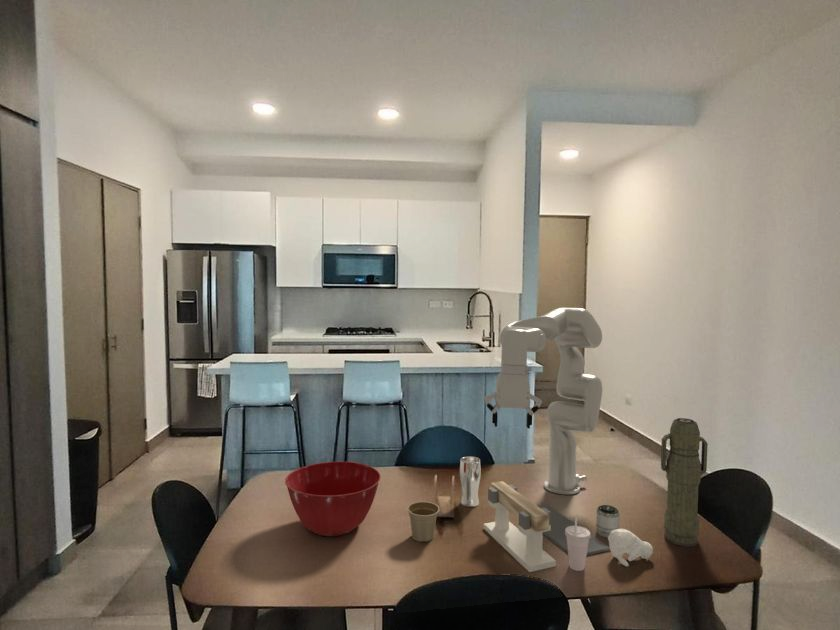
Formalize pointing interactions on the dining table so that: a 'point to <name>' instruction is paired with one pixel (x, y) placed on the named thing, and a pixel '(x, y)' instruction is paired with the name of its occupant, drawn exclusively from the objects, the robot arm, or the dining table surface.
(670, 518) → the thermos
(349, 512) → the mixing bowl
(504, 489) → the rail
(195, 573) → the dining table surface
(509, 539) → the hook stand
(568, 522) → the mat
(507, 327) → the robot arm
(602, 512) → the camera lens
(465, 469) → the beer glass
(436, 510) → the flower pot
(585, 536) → the smoothie
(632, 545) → the white animal figurine
